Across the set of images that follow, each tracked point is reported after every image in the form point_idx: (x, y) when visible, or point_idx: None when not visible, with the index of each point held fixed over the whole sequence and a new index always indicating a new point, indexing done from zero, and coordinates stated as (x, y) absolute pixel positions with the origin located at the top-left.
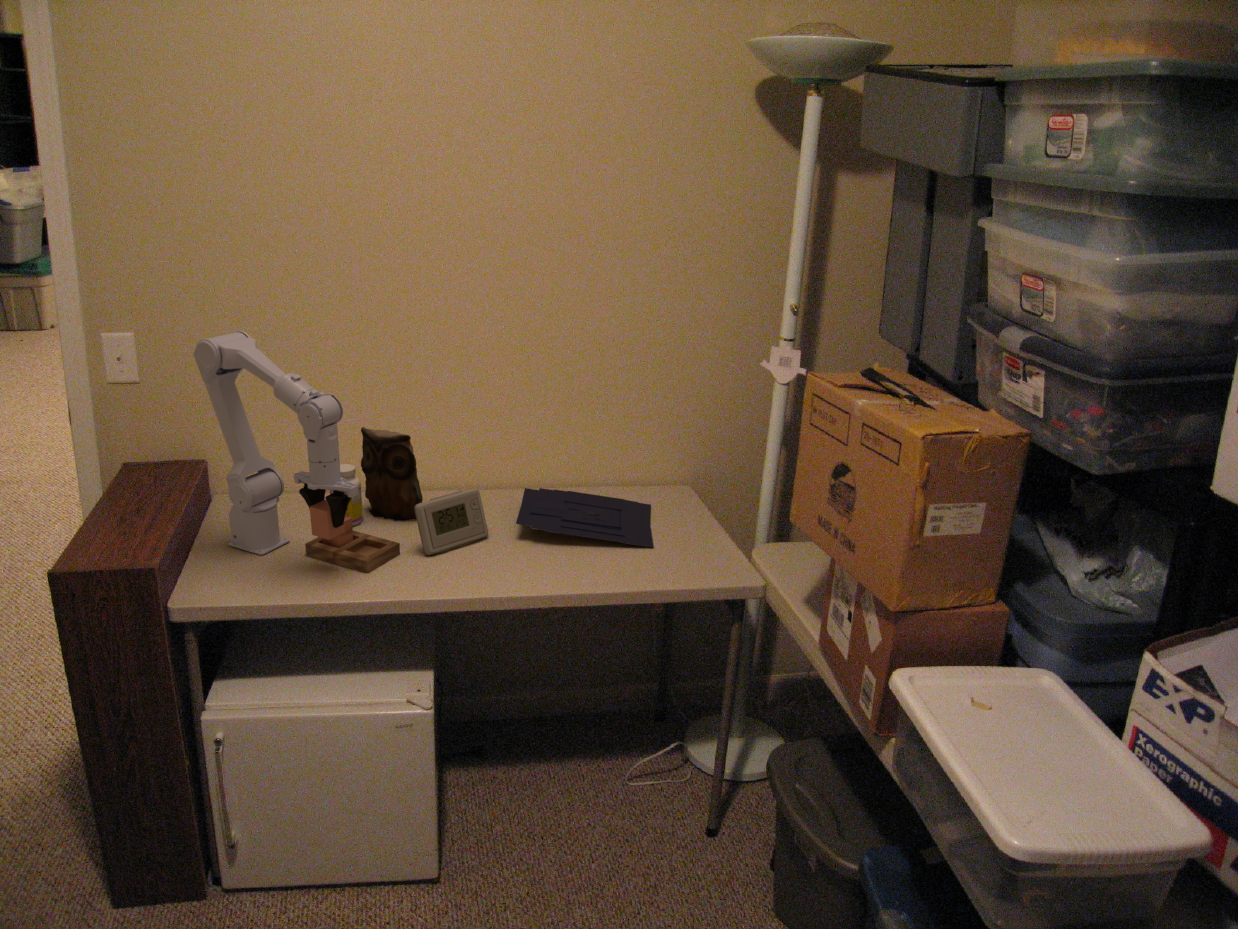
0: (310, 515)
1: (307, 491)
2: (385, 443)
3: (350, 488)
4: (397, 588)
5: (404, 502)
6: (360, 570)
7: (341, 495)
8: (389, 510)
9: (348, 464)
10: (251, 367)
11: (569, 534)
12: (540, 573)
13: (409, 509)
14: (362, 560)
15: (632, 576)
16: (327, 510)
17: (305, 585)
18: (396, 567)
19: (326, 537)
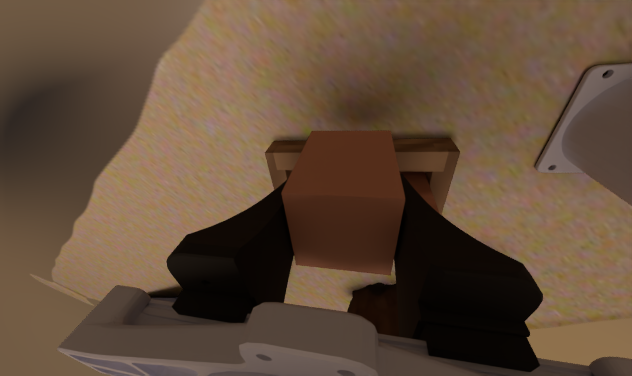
0: (397, 170)
1: (443, 288)
2: None
3: (61, 349)
4: (187, 123)
5: (362, 316)
6: (291, 141)
7: (188, 292)
8: (391, 298)
9: None
10: None
11: (169, 298)
12: (133, 238)
13: (358, 305)
14: (277, 152)
15: (91, 259)
16: (290, 203)
17: (338, 2)
18: (257, 180)
19: (321, 133)
